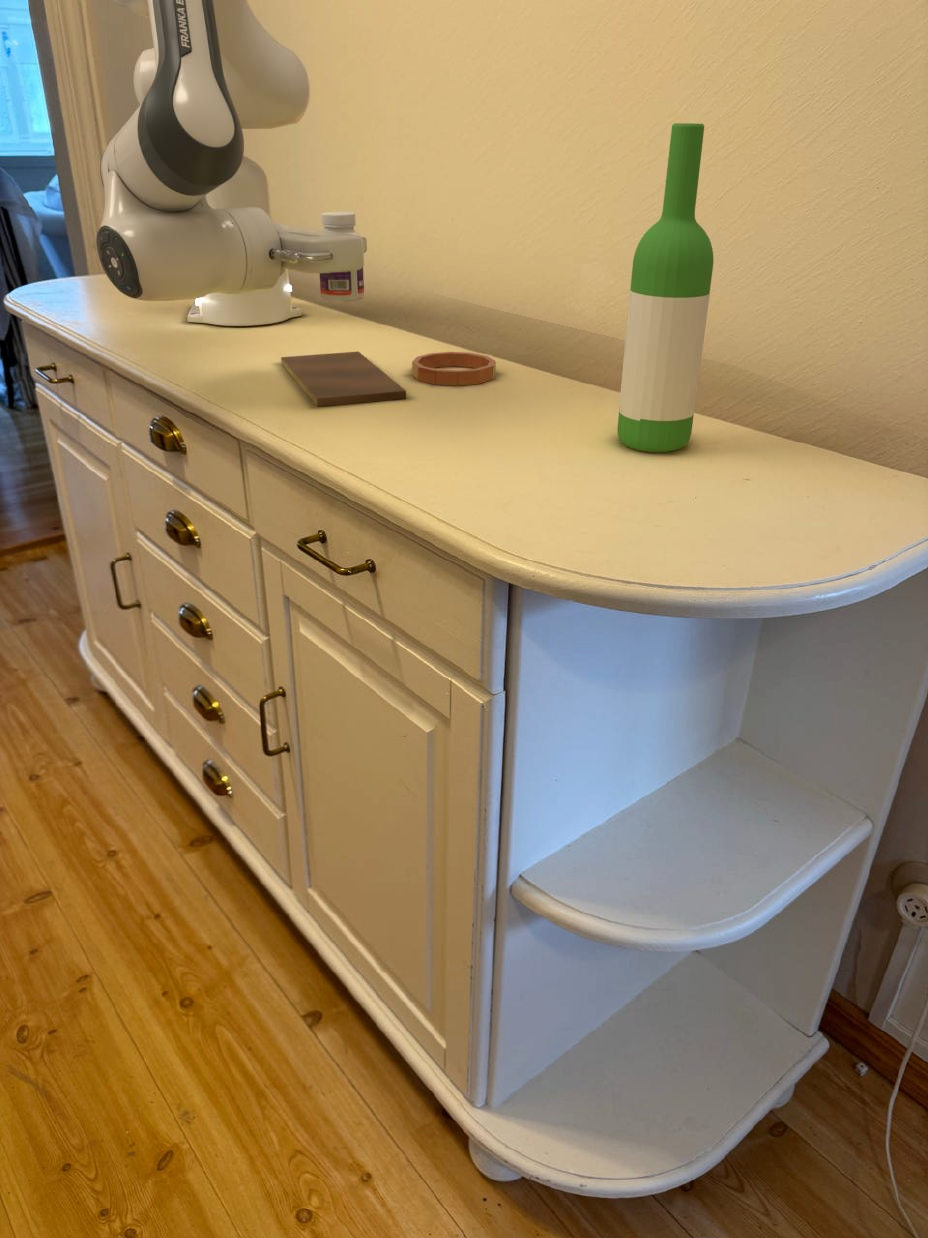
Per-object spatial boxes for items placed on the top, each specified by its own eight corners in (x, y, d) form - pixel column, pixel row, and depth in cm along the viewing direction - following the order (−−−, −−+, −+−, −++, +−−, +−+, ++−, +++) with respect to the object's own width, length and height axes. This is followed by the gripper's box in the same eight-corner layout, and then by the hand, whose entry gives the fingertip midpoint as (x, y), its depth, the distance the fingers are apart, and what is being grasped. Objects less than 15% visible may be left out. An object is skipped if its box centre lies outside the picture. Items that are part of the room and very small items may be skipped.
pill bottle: (346, 292, 118) (342, 209, 114) (373, 298, 115) (370, 213, 110) (311, 297, 115) (306, 212, 110) (338, 303, 112) (334, 215, 107)
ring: (402, 368, 126) (402, 355, 125) (476, 362, 129) (477, 349, 128) (428, 388, 117) (428, 374, 116) (507, 381, 120) (507, 367, 119)
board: (281, 364, 127) (280, 356, 127) (358, 358, 131) (358, 351, 130) (317, 406, 109) (316, 398, 109) (406, 398, 113) (406, 390, 112)
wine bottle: (684, 459, 94) (727, 124, 79) (608, 449, 96) (637, 122, 82) (694, 437, 100) (736, 123, 86) (623, 429, 103) (653, 122, 88)
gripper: (299, 227, 96) (400, 220, 104) (197, 212, 109) (295, 207, 117) (304, 291, 99) (401, 278, 107) (204, 269, 112) (298, 259, 120)
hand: (345, 241), depth 112 cm, fingers closed on pill bottle, 5 cm apart
